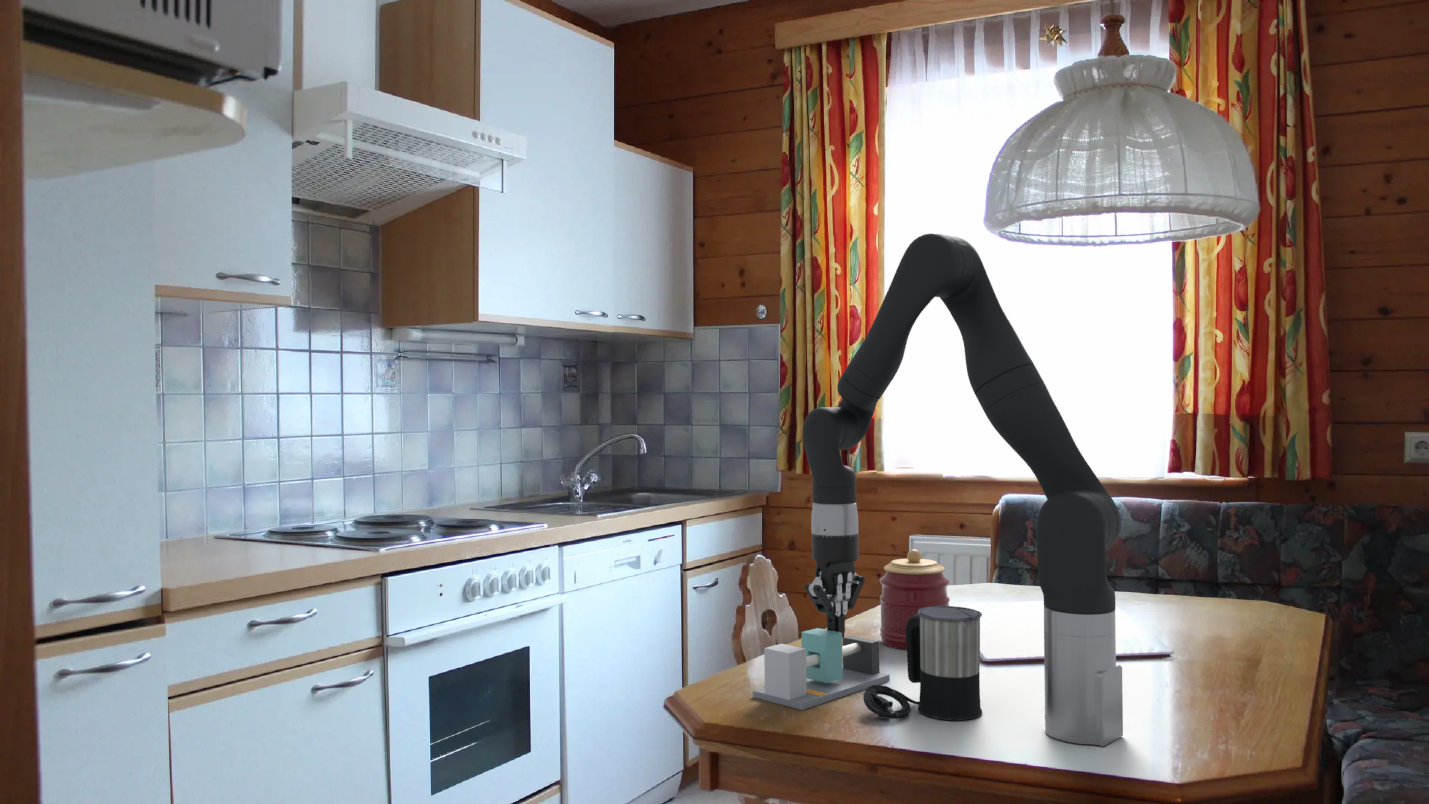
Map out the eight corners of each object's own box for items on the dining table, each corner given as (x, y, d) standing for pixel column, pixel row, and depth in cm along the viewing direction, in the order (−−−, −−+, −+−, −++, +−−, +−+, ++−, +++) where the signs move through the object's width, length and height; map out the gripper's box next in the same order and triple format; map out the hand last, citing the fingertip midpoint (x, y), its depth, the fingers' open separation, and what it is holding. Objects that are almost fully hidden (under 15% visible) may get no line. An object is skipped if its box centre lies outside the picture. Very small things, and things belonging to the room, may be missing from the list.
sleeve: (842, 678, 166) (842, 632, 166) (826, 683, 163) (826, 636, 163) (818, 672, 169) (817, 628, 169) (802, 677, 166) (801, 632, 166)
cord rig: (889, 680, 170) (889, 631, 170) (802, 710, 155) (801, 656, 155) (840, 670, 178) (840, 623, 178) (752, 697, 162) (752, 645, 162)
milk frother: (995, 712, 153) (994, 611, 153) (932, 737, 142) (931, 628, 142) (915, 693, 163) (914, 598, 163) (850, 715, 152) (849, 613, 152)
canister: (931, 654, 188) (930, 556, 188) (867, 645, 195) (866, 550, 195) (961, 641, 198) (960, 547, 198) (899, 632, 206) (898, 542, 206)
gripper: (826, 536, 161) (828, 649, 161) (878, 528, 171) (879, 634, 171) (790, 532, 167) (791, 641, 167) (842, 525, 176) (843, 628, 176)
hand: (836, 637), depth 169 cm, fingers closed
